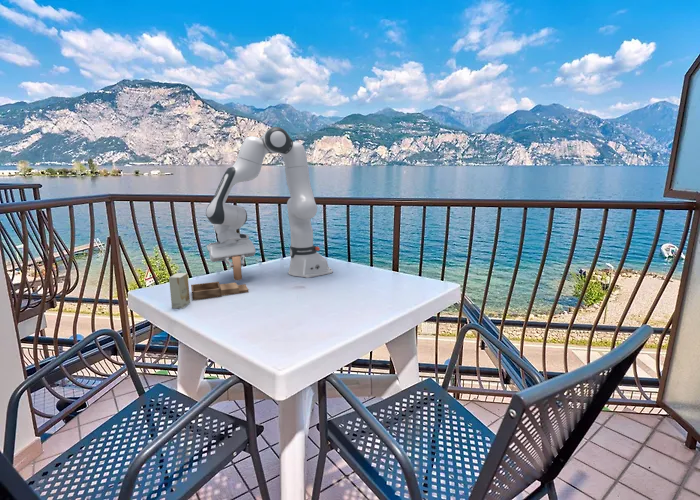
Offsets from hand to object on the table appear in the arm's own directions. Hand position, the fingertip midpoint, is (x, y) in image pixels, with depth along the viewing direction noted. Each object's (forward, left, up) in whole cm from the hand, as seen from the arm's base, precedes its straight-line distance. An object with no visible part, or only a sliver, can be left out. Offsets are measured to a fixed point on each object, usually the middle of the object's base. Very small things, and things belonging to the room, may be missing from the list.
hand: (237, 265), depth 158 cm
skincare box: (+24, +17, -9) cm, 31 cm away
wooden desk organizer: (+9, +8, -9) cm, 15 cm away
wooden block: (0, -1, -6) cm, 6 cm away
